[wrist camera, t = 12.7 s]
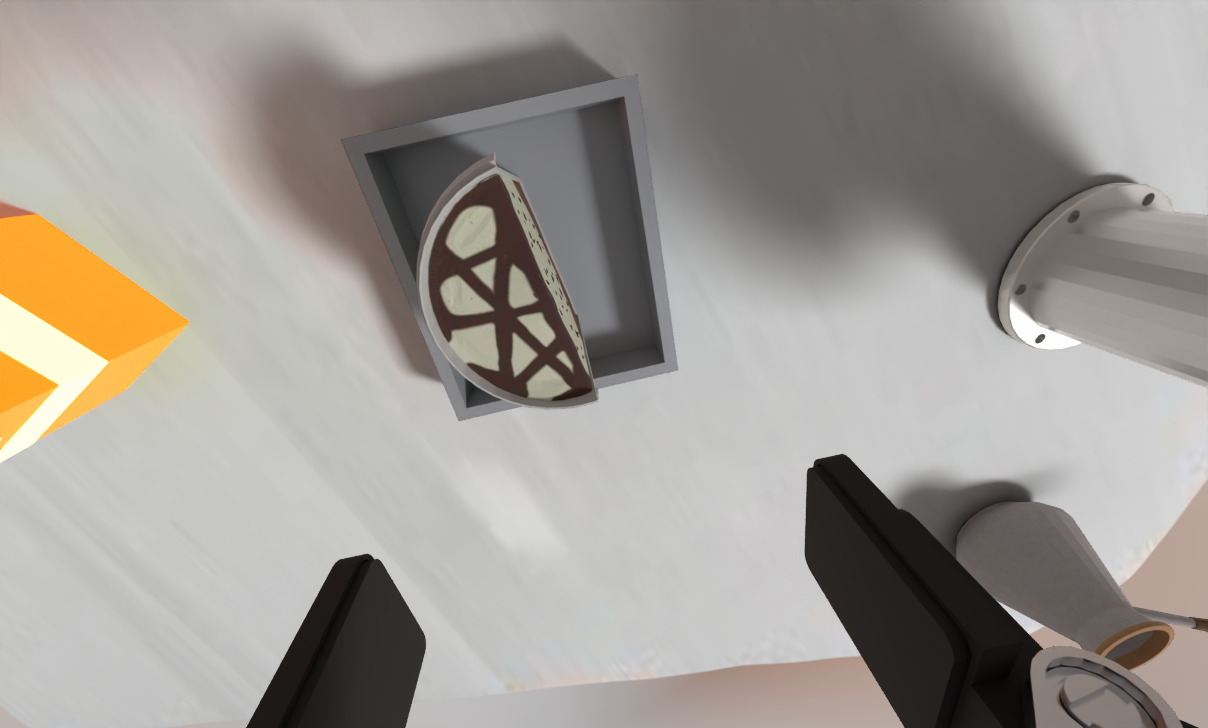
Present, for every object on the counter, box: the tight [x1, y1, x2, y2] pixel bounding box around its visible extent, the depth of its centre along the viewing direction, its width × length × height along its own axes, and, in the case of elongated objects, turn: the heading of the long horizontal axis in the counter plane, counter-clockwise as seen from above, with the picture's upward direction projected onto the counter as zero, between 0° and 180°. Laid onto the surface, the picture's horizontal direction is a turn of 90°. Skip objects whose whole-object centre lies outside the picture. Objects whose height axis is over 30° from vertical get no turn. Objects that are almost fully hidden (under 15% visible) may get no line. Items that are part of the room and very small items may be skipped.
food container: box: [416, 153, 599, 409], centre depth 24 cm, size 12×6×10 cm, turn 20°
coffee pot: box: [956, 502, 1208, 671], centre depth 41 cm, size 21×12×15 cm, turn 93°
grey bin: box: [341, 74, 678, 421], centre depth 28 cm, size 15×17×4 cm
